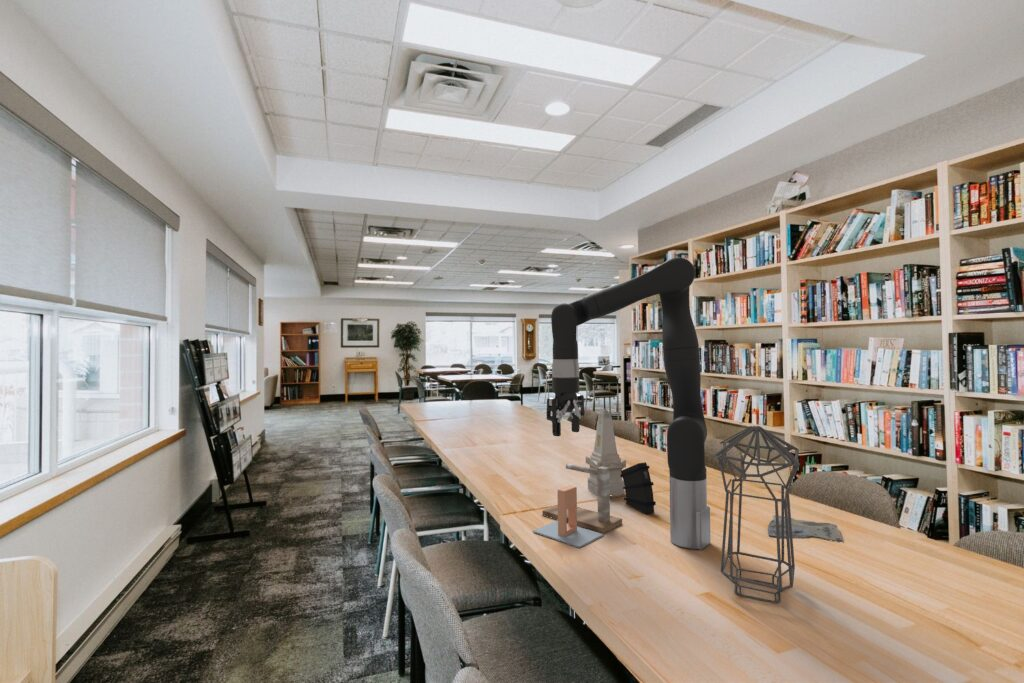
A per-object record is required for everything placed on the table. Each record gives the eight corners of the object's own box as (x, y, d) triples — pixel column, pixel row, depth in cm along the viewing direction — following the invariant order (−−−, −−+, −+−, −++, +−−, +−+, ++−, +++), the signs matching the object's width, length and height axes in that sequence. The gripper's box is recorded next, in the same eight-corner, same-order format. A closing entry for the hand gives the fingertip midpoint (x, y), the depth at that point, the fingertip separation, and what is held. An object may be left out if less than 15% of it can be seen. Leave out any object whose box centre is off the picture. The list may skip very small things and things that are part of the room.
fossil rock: (835, 529, 138) (835, 521, 138) (846, 550, 124) (846, 540, 124) (765, 520, 145) (765, 512, 145) (768, 538, 132) (768, 530, 132)
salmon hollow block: (577, 530, 136) (576, 486, 136) (565, 536, 132) (564, 491, 132) (570, 528, 138) (569, 485, 138) (557, 534, 134) (557, 489, 134)
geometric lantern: (799, 584, 105) (799, 423, 105) (800, 621, 92) (799, 436, 91) (721, 567, 113) (720, 417, 113) (710, 599, 100) (710, 429, 99)
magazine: (652, 512, 147) (638, 463, 153) (628, 519, 158) (616, 472, 164) (662, 510, 148) (648, 461, 155) (638, 517, 159) (625, 471, 165)
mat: (603, 536, 133) (603, 534, 133) (579, 548, 125) (579, 546, 125) (557, 522, 144) (557, 520, 144) (532, 532, 136) (532, 530, 136)
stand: (622, 523, 142) (621, 466, 143) (603, 533, 135) (602, 472, 135) (562, 507, 157) (561, 455, 158) (542, 515, 150) (541, 460, 150)
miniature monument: (586, 489, 178) (585, 407, 178) (611, 486, 181) (610, 405, 181) (599, 497, 168) (598, 410, 168) (626, 494, 171) (625, 409, 171)
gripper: (560, 377, 128) (561, 439, 127) (591, 374, 138) (592, 432, 138) (538, 376, 133) (539, 435, 133) (570, 374, 143) (570, 429, 143)
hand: (566, 433), depth 135 cm, fingers open, 8 cm apart
